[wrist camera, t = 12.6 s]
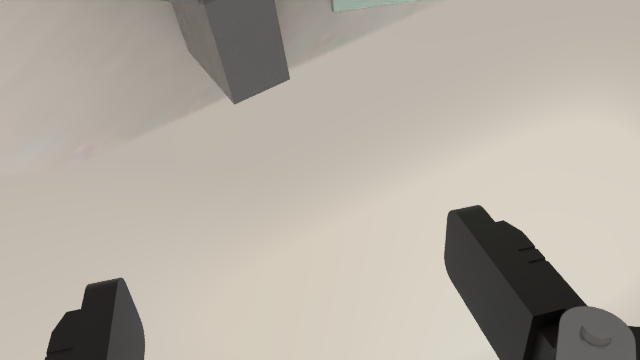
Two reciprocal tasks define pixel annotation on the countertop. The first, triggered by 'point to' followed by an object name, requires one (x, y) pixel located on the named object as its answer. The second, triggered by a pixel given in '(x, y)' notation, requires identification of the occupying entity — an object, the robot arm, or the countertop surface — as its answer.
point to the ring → (235, 43)
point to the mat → (361, 4)
